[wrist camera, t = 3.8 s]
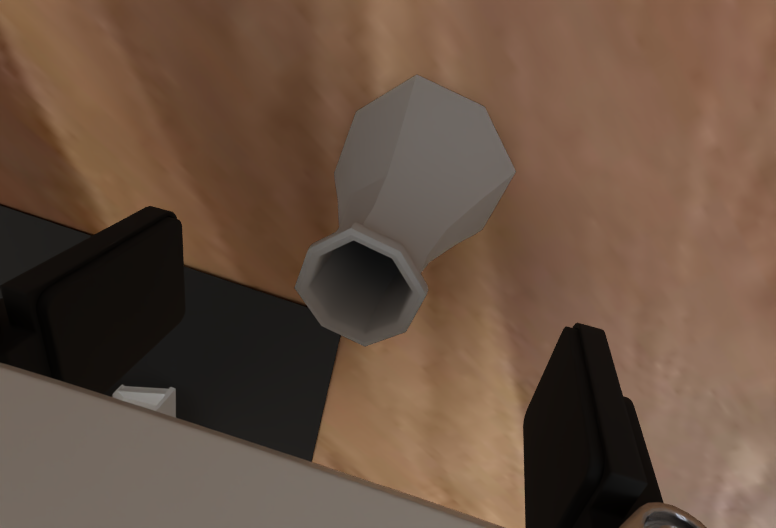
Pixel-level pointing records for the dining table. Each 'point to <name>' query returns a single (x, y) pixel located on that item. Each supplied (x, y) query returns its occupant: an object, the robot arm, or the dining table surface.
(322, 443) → the dining table surface
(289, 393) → the black-topped pedestal
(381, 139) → the flask
